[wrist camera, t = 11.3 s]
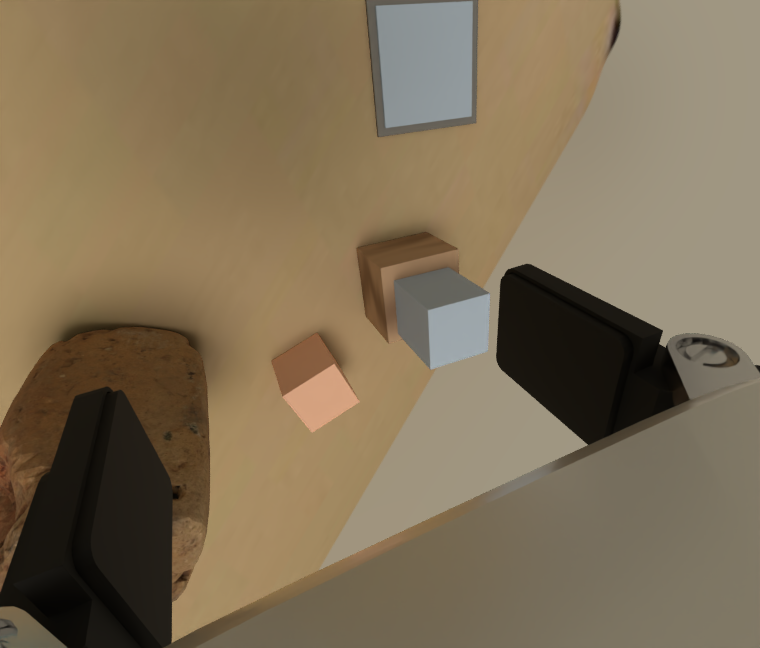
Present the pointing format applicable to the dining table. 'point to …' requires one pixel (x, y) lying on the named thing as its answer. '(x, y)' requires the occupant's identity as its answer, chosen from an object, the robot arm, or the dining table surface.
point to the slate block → (442, 316)
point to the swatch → (423, 63)
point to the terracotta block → (313, 383)
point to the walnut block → (398, 273)
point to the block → (153, 408)
